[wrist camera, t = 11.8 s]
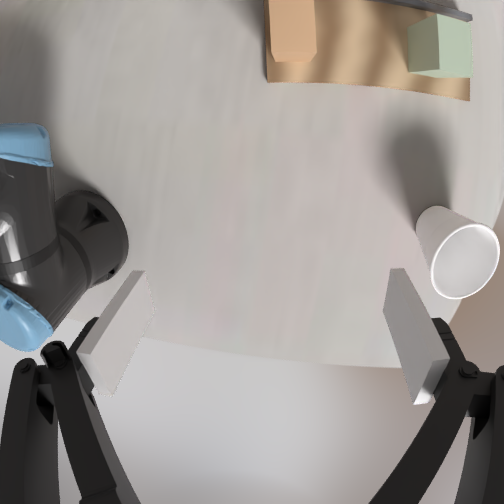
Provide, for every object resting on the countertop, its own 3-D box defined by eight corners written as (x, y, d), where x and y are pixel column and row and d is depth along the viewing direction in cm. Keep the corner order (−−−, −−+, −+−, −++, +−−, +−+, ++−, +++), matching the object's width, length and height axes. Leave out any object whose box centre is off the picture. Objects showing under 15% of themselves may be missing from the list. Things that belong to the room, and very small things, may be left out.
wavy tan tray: (268, 82, 35) (266, 81, 32) (263, -8, 29) (261, -14, 27) (465, 100, 32) (475, 102, 29) (462, 17, 26) (471, 14, 24)
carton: (408, 72, 31) (439, 69, 23) (406, 26, 28) (436, 12, 20) (437, 77, 30) (472, 77, 23) (435, 33, 28) (470, 22, 20)
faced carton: (275, 61, 33) (271, 52, 25) (273, 14, 30) (268, -8, 22) (310, 61, 32) (316, 52, 24) (308, 14, 29) (313, -8, 21)
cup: (422, 179, 38) (459, 208, 28) (473, 209, 39) (512, 242, 29) (390, 242, 43) (414, 285, 33) (441, 265, 43) (470, 308, 34)
